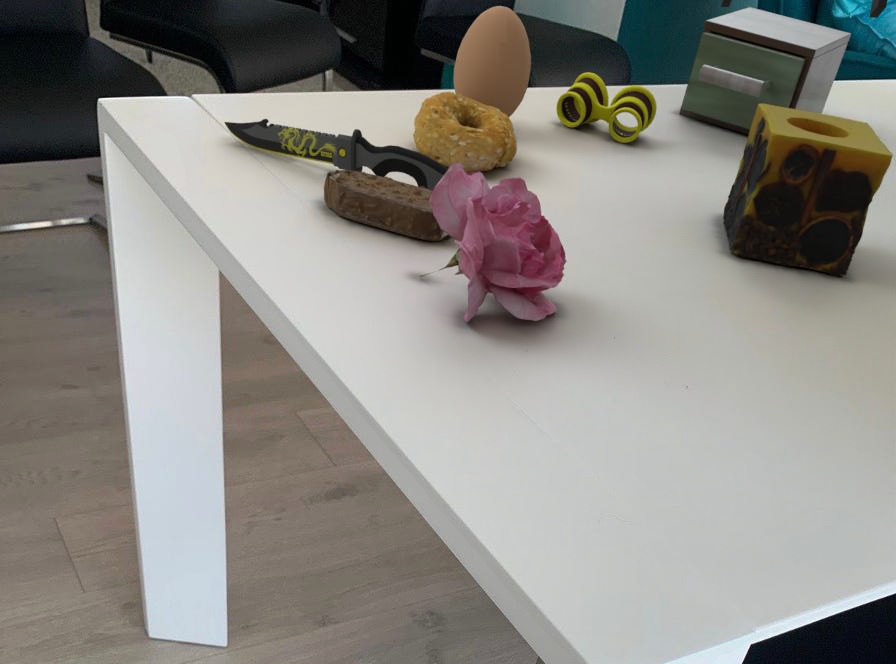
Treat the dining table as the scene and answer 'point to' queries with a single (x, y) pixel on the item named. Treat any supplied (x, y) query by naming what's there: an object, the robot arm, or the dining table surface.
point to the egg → (494, 60)
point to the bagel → (464, 133)
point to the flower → (499, 242)
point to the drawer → (739, 79)
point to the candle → (804, 189)
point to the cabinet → (789, 36)
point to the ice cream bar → (383, 203)
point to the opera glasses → (606, 106)
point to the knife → (339, 151)
